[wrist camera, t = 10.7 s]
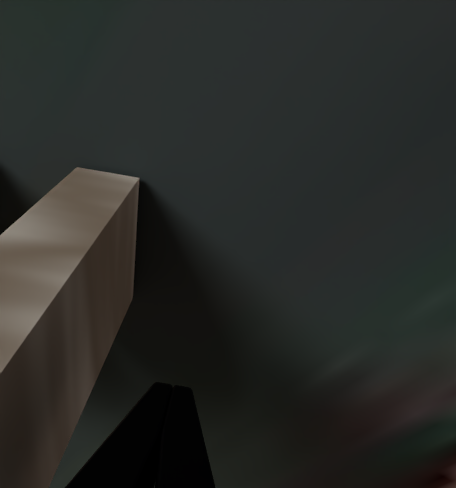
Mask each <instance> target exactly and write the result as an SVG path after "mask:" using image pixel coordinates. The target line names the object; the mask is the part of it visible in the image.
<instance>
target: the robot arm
mask: <svg viewBox="0 0 456 488" xmlns="http://www.w3.org/2000/svg"><path fill="white" fill-rule="evenodd" d="M155 482H156V483H155ZM154 486H155V488H215V484H214V479H213V475H212V471H211V467H210V463H209V459H208V454H207V450H206V446H205V442H204V438H203V434H202V429H201V425H200V421H199V417H198V413H197V408H196V404H195V400H194V396H193V392H192V389H191V388H189V387H184V386H178V385H175V386H174V387H172V385H170V384H166V383H159V382H156V383H154V384H153V385H152V386H151V387H150V388H149V389H148V391H147V392H146V393H145V394H144V395H143V396H142V398H141V399H140V400H139V401H138V402H137V403H136V405H135V406H134V407H133V408H132V409H131V411H130V412H129V413H128V414H127V415H126V416H125V418H124V419H123V420H122V421H121V422H120V423H119V425H118V426H117V427H116V428H115V429H114V431H113V432H112V433H111V434H110V435H109V436H108V438H107V439H106V440H105V441H104V442H103V443H102V445H101V446H100V447H99V448H98V449H97V451H96V452H95V453H94V454H93V455H92V456H91V458H90V459H89V460H88V461H87V462H86V463H85V465H84V466H83V467H82V468H81V469H80V471H79V472H78V473H77V474H76V475H75V476H74V478H73V479H72V480H71V481H70V482H69V484H68V485H67V486H66V487H65V488H154Z"/></svg>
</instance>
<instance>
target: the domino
mask: <svg viewBox="0 0 456 488" xmlns="http://www.w3.org/2000/svg"><path fill="white" fill-rule="evenodd" d="M138 194H139V178H137V177H131V176H125V175H119V174H113V173H108V172H102V171H96V170H90V169H84V168H79V167H77V168H76V169H74V170H73V171H72V172H71V173H70V174H69V175H68V176H66V177H65V178H64V179H63V180H62V181H61V182H60V183H59V184H57V185H56V186H55V187H54V188H53V189H52V190H51V191H50V192H48V193H47V194H46V195H45V196H44V197H43V198H42V199H40V200H39V201H38V202H37V203H36V204H35V205H34V206H33V207H31V208H30V209H29V210H28V211H27V212H26V213H25V214H24V215H22V216H21V217H20V218H19V219H18V220H17V221H16V222H14V223H13V224H12V225H11V226H10V227H9V228H8V229H7V230H5V231H4V232H3V233H2V234H1V235H0V488H49V485H50V483H51V481H52V479H53V476H54V474H55V472H56V470H57V467H58V465H59V463H60V461H61V458H62V456H63V454H64V452H65V449H66V447H67V445H68V443H69V440H70V438H71V436H72V434H73V431H74V429H75V427H76V425H77V422H78V420H79V418H80V416H81V413H82V411H83V409H84V407H85V404H86V402H87V400H88V398H89V395H90V393H91V391H92V389H93V386H94V384H95V382H96V380H97V378H98V375H99V373H100V371H101V369H102V366H103V364H104V362H105V360H106V357H107V355H108V353H109V351H110V348H111V346H112V344H113V342H114V339H115V337H116V335H117V333H118V330H119V328H120V326H121V324H122V321H123V319H124V317H125V315H126V312H127V310H128V308H129V306H130V303H131V301H132V299H133V286H134V268H135V249H136V231H137V212H138Z"/></svg>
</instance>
